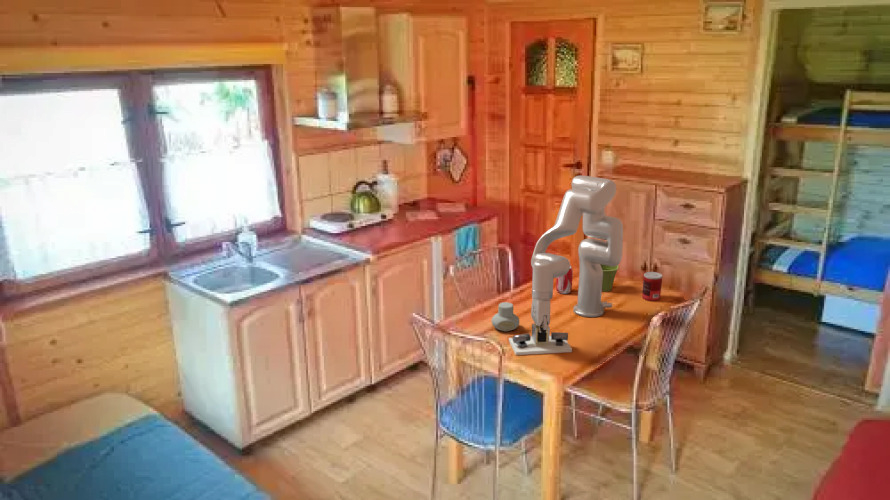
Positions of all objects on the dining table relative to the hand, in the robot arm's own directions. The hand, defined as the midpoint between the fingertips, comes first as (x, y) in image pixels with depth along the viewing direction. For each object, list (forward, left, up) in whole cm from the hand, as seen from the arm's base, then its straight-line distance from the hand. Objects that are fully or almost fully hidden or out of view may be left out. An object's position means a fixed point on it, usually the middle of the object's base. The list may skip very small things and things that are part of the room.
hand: (540, 338), depth 250 cm
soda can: (-24, -52, -4) cm, 58 cm away
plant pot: (-43, -53, -4) cm, 69 cm away
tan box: (0, 0, -1) cm, 1 cm away
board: (0, 0, -3) cm, 3 cm away
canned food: (-60, -40, -4) cm, 73 cm away
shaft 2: (-7, +1, -2) cm, 7 cm away
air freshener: (+10, -17, -4) cm, 20 cm away
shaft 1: (+7, +1, -2) cm, 8 cm away
